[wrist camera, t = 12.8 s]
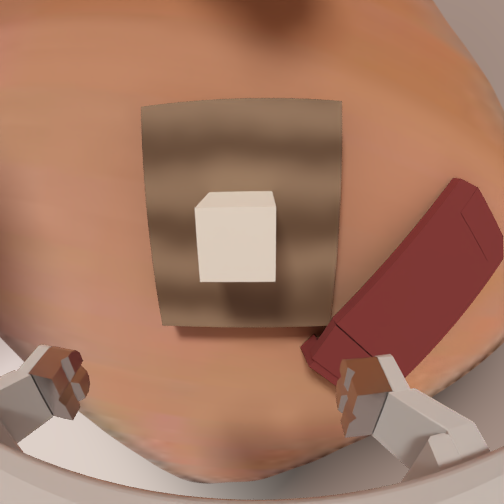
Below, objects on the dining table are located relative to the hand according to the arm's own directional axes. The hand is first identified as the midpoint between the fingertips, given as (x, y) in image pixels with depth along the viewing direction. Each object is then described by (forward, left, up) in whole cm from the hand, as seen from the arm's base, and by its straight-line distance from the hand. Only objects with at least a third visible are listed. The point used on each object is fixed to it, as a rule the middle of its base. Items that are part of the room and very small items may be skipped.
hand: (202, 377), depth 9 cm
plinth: (0, 0, -21) cm, 21 cm away
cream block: (0, 0, -18) cm, 18 cm away
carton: (+8, +18, -21) cm, 29 cm away
